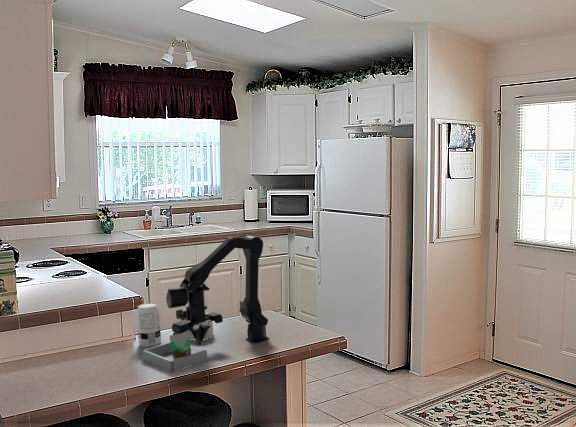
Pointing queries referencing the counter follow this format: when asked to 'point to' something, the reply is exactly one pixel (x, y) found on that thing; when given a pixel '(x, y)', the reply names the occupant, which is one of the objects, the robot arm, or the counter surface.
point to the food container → (180, 344)
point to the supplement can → (148, 325)
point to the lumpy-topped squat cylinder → (209, 332)
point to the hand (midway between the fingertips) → (199, 345)
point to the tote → (154, 358)
